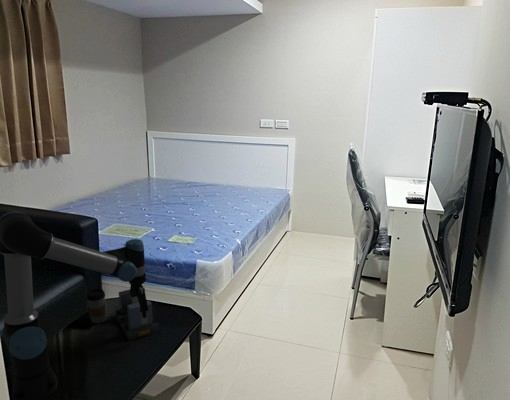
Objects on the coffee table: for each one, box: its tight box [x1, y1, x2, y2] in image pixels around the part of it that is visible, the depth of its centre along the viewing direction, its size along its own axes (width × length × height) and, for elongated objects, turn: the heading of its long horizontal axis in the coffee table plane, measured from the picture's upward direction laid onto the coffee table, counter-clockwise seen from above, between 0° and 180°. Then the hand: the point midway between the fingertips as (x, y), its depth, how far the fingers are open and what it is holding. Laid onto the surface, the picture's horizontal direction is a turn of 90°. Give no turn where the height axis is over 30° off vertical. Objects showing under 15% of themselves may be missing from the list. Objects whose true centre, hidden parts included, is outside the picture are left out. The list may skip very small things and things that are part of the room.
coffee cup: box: [86, 288, 106, 324], centre depth 199 cm, size 8×8×15 cm
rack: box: [114, 289, 160, 342], centre depth 197 cm, size 14×25×14 cm, turn 31°
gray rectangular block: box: [127, 299, 153, 331], centre depth 191 cm, size 10×4×12 cm, turn 121°
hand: (139, 316), depth 191 cm, fingers open, 13 cm apart
